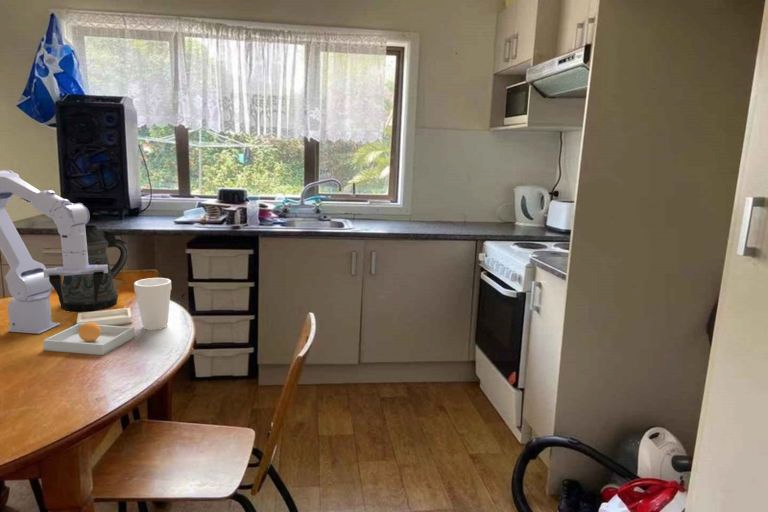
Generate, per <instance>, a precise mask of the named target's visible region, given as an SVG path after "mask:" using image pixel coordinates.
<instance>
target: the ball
mask: <svg viewBox="0 0 768 512" xmlns="http://www.w3.org/2000/svg"><path fill="white" fill-rule="evenodd" d="M100 334H101V329H100V327H99V325H98V324H96V323H94V322H87V323H85V324H83V325H82V326H81V327H80V329H79V336H80V338H81V339H82V340H84V341H87V342H91V341H94V340H96V339H97V338H98V337H99V336H100Z"/></svg>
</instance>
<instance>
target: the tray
mask: <svg viewBox="0 0 768 512" xmlns="http://www.w3.org/2000/svg"><path fill="white" fill-rule="evenodd" d="M82 325H83V324H81V323H78V324H77V323H76V324H74V325H72V326H71V327H68V328H66V329H64V330H62V331H60V332H58V333H56V334H53V335H52V336H49V337H47V338H45V339H43V340H42V345H43V351H47V352H60V353H70V354H71V353H73V354H84V355H85V354H87V355H98V356H105V355H107V354H108V353H110V352H112V351H114V350H115V349H117V348H118V347H120V346H122V345H123V344H125V343H126V342H128V341H130V340H132V339H134V338H135V327H134V326H122V325H113V326H108V325H99V327H100V329H101V334H100V336H99V337H98V338H97V339H96V340H94V341H91V342H87V341H84V340H82V339H81V338H80V336H79V329H80V327H81V326H82Z"/></svg>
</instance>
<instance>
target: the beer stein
mask: <svg viewBox="0 0 768 512" xmlns="http://www.w3.org/2000/svg"><path fill="white" fill-rule="evenodd" d="M85 229H86V241H87V252H88V263H89V265H108V273H104V277H103V279H102V282H101V284H100V287H99V291H98V297H97V298H98V299H97V301H94V282H93V274H79V275H66V276H63V278H62V289H63V295H64V304H61V302H60V299H59V298H58V301H59V304H60V308H61V310H63V311H64V310H65V311H64V312H66V311H69V313H84V312H94V311H104V310H108V309H109V308H112V307H114V306H116V305H117V304H118V299H119V291H118V289H117V288H116V286H115V283H114V282H113V279H115V278H116V277H117V276H118V275H119V274H120V273H121V271H122V270H123V268H124V267H125V265H126V264H127V262H128V259H129V249H128V247H127V245H126V244H127V243H126V242H125V241H124V240H122V239H120V238H118V237H116V235H115V233H114V232H112V231H111V230H109V229H100V228H98V227H97V225H90V224H89V225H87V224H86V225H85ZM107 248H108V249H109V248H110V249H111V248H117V249H118V250H119V253H120V254H119V258H118V260H117V261H116V262H115V264H114V265H113V267H112V268H110V260H109V258H108V254H107Z"/></svg>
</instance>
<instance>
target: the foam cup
mask: <svg viewBox="0 0 768 512" xmlns="http://www.w3.org/2000/svg"><path fill="white" fill-rule="evenodd" d="M133 287H134V290H133V291H134V293H135V296H136V297H135V298H136V301H137V306H138V309H139V315H140V320H141V324H142V326H143V329H144V330H146V329H147V331H157V330H156V329H159V330H161V329H160V328H163V329H165V328H166V327H165V326H167V327H168V325H167V324H169V313H170V312H169V311H170V300H171V291H172V280H171V279H170V278H167V277H166V278H165V277H152V278H151V277H149V278H144V279H143V278H142V279H139V280H136V281H135V282H133ZM164 327H165V328H164Z"/></svg>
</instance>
